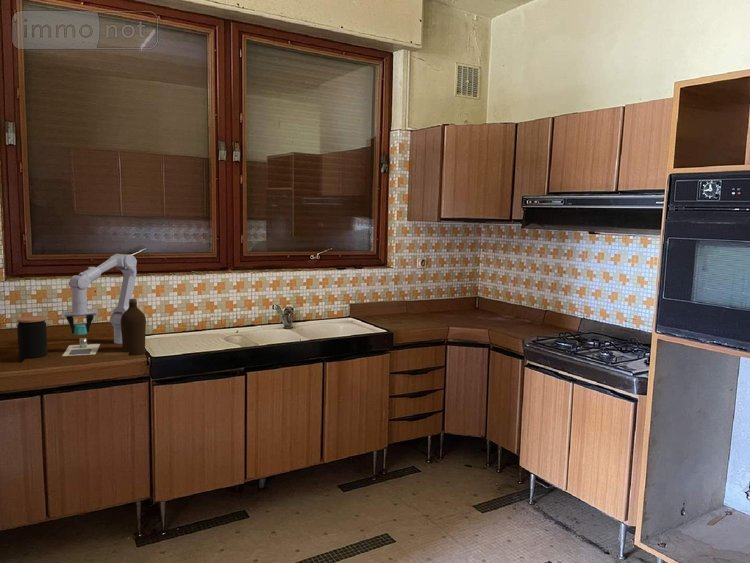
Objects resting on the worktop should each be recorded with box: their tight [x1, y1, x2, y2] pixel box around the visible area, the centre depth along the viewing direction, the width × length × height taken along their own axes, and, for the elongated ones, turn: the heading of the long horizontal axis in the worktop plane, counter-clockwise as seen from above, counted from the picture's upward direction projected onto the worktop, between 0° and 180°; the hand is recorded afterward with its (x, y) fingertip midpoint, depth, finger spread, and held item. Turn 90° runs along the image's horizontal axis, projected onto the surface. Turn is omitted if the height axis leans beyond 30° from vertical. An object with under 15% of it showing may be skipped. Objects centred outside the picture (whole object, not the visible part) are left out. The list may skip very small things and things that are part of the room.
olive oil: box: [121, 298, 147, 356], centre depth 255 cm, size 11×11×25 cm
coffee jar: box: [16, 315, 49, 363], centre depth 240 cm, size 11×11×18 cm
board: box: [62, 343, 101, 357], centre depth 254 cm, size 13×21×2 cm, turn 21°
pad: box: [69, 349, 92, 356], centre depth 249 cm, size 8×8×1 cm
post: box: [79, 337, 88, 348], centre depth 258 cm, size 3×3×4 cm
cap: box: [73, 323, 88, 336], centre depth 250 cm, size 5×5×4 cm
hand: (80, 332), depth 250 cm, fingers closed on cap, 5 cm apart
